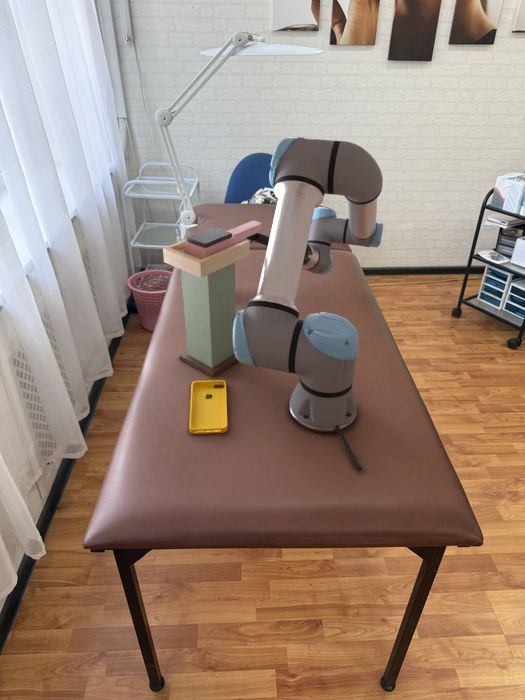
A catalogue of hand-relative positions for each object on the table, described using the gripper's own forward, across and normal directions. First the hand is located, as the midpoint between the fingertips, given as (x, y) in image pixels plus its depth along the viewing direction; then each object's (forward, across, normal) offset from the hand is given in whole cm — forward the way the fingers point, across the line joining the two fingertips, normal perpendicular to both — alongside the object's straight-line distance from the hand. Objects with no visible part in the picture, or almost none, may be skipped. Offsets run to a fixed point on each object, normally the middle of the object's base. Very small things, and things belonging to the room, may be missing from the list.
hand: (260, 237), depth 130 cm
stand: (+3, 0, -34) cm, 34 cm away
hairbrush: (+13, 0, -5) cm, 14 cm away
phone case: (+16, -14, -41) cm, 46 cm away
